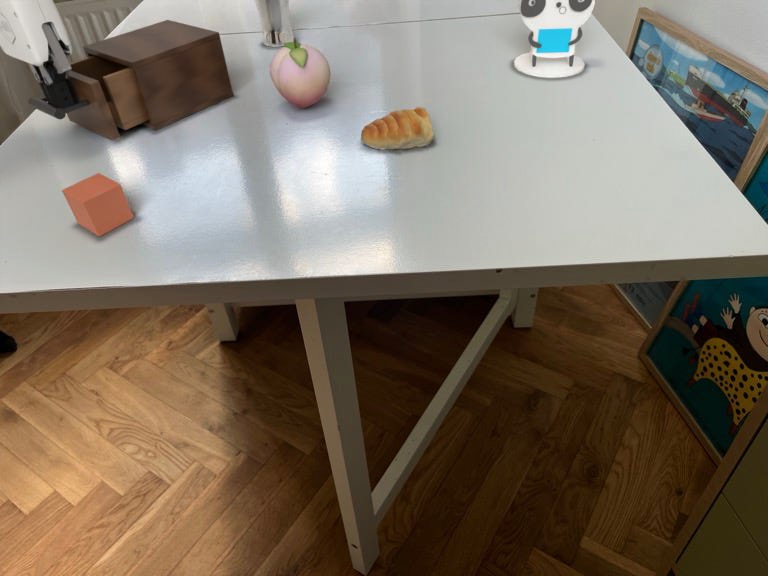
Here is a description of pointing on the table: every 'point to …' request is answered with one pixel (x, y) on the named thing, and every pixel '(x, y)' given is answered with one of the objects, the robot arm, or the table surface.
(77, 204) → the block
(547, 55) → the panda figurine
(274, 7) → the beer glass
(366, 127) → the pastry
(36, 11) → the robot arm
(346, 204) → the table surface
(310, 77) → the decorative fruit
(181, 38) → the cabinet
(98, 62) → the drawer
